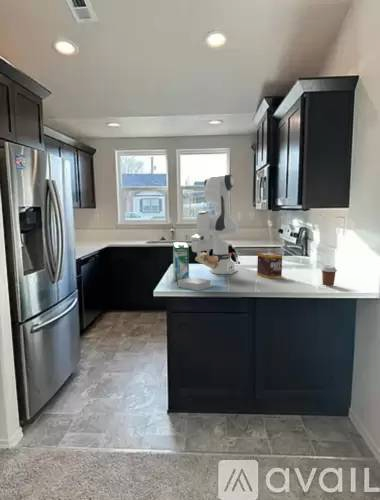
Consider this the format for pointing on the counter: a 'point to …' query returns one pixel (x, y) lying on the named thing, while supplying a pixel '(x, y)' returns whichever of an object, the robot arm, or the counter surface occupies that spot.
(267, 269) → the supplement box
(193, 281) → the block
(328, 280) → the coffee cup
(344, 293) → the counter surface
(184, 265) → the milk carton
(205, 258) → the beige stepped block
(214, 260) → the salmon pink cube
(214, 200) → the robot arm
